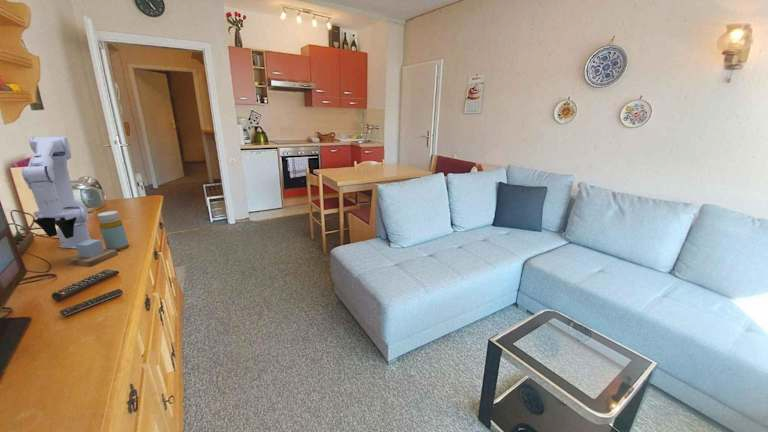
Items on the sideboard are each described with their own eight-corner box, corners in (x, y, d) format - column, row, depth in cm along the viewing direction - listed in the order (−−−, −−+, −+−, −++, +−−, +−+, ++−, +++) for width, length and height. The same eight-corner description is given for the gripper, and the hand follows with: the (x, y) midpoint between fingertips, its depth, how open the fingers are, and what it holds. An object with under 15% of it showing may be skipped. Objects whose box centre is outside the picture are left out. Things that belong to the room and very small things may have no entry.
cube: (79, 256, 115) (75, 244, 114) (93, 251, 120) (89, 239, 118) (90, 258, 114) (86, 245, 113) (104, 252, 119) (100, 240, 117)
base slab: (68, 264, 114) (66, 259, 113) (97, 252, 123) (95, 248, 123) (90, 266, 112) (88, 261, 112) (118, 254, 122) (116, 249, 121)
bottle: (116, 252, 123) (105, 216, 118) (102, 251, 125) (91, 215, 120) (133, 245, 130) (123, 211, 125) (119, 244, 131) (109, 210, 126)
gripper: (17, 202, 106) (32, 239, 111) (50, 204, 104) (64, 242, 108) (42, 197, 113) (55, 232, 117) (74, 199, 110) (86, 234, 115)
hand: (61, 236), depth 113 cm, fingers open, 7 cm apart
